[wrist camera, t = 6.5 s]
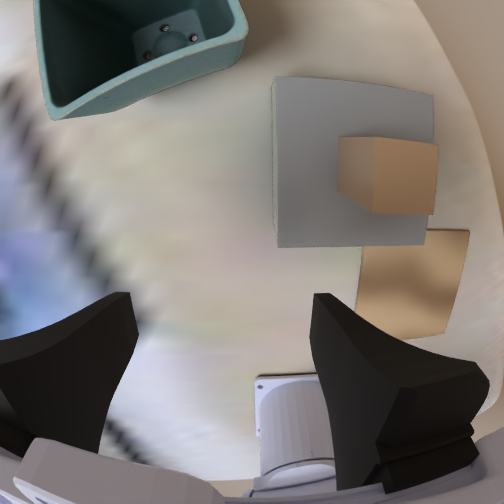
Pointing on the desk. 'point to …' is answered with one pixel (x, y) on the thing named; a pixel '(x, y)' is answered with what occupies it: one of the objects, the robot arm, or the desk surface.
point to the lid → (353, 164)
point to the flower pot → (129, 49)
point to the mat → (412, 284)
